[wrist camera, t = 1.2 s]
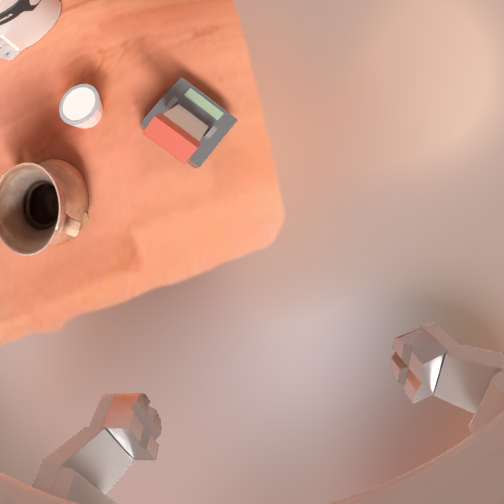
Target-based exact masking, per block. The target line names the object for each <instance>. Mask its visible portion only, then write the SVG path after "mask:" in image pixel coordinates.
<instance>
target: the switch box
mask: <svg viewBox="0 0 504 504" xmlns="http://www.w3.org/2000/svg"><path fill="white" fill-rule="evenodd" d="M178 104H179V105H181V106H182V107H183V108H185V109H186V110H187V111H189V112H190V113H191V114H193V115H194V116H195V117H197V118H198V119H199V120H201V121H202V122H203V123H205V124H206V125H207V126H209V127H208V129H207V130H206V132H205V133H204V135H203V136H202V138H201V140H200V142H201V144H200V145H199V147H198V148H197V150H196V151H195V152H194V153H193V154H192V156H191V157H190V158H189V159H188V160H187V163H189V164H190V165H191V166H193V167H194V168H198V167H200V166H201V165H202V164H203V162H204V161H205V160H206V158H207V157H208V156H209V155H210V153H211V152H212V151H213V150H214V148H215V147H216V146H217V145H218V143H219V142H220V141H221V140H222V138H223V137H224V136H225V135H226V134H227V132H228V131H229V130H230V129H231V128H232V126H233V125H234V124H235V123H236V122H237V119H236V118H235V117H233V116H232V115H231V114H230V113H228V112H227V111H226V110H225V109H223V108H222V107H221V106H220V105H218V104H217V103H216V102H214V101H213V100H212V99H211V98H209V97H208V96H207V95H205V94H204V93H203V92H201V91H200V90H199V89H197V88H196V87H195V86H193V85H192V84H190V83H189V82H188V81H186V80H185V79H184V78H182V77H181V78H180V79H179V80H178V81H177V82H176V83H175V84H174V85H173V86H172V87H171V88H170V89H169V90H168V91H167V93H166V94H165V95H164V96H163V97H162V98H161V99H160V100H159V102H158V103H157V104H156V105H155V106H154V107H153V109H152V110H151V111H150V112H149V113H148V114H147V116H146V117H145V118H144V119H143V121H142V122H141V123H140V125H141V129H142V130H145V129H146V127H147V126H148V125H149V123H150V122H151V120H152V119H153V117H154V116H155V115H157V114H159V113H162V114H164V113H165V112H167V111H168V110H170V109H172V108H173V107H175V106H176V105H178Z"/></svg>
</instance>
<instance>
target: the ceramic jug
mask: <svg viewBox="0 0 504 504" xmlns="http://www.w3.org/2000/svg"><path fill="white" fill-rule="evenodd" d="M88 206H89V195H88V189H87V185H86V182H85V180H84V178H83V176H82V175H81V173H80V172H79V171H78V170H77V169H76V168H75V167H74V166H73V165H72V164H70V163H68V162H66V161H63V160H59V159H50V160H45V161H43V162H40V163H38V164H35V163H30V162H27V163H20V164H18V165H15V166H13V167H12V168H10V169H9V170H8V171H6V172H5V173H4V174H3V176H2V177H1V179H0V239H1V241H2V243H3V244H4V245H5V246H6V247H7V248H8V249H10V250H11V251H13V252H14V253H17V254H19V255H26V256H27V255H34V254H37V253H39V252H41V251H42V250H44V249H45V248H46V247H47V246H58V245H62V244H64V243H66V242H68V241H69V240H71V239H72V238H73V237H76V236H77V234H78V232H79V230H80V229H81V227H82V225H83V224H84V223H85V222H86V221H87V220H88V218H89V217H88Z"/></svg>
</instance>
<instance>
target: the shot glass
mask: <svg viewBox="0 0 504 504" xmlns="http://www.w3.org/2000/svg"><path fill="white" fill-rule="evenodd" d="M59 113H60V117H61V118H62V120H63V121H64V122H65V123H67V124H69V125H72V126H76V127H79V128H90V127H93V126H94V125H96V124H97V123H98V122H99V120H100V119H101V117H102V113H103V108H102V103H101V100H100V97H99V94H98V91H97V90H96V89H95V88H94V87H93V86H91V85H89V84H79V85H76V86H74V87H72V88H71V89H69V90H68V91H67V92H66V93H65V94H64V96H63V98H62V99H61V102H60V106H59Z"/></svg>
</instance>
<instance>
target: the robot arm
mask: <svg viewBox="0 0 504 504" xmlns="http://www.w3.org/2000/svg"><path fill="white" fill-rule="evenodd" d="M60 13H61V2H60V0H0V58H1V59H4V60H8V61H11V60H13V59H14V58H15V57H16V56H17V55H18V54H19V53H20V52H21V51H23V50H24V49H26V48H27V47H29V46H31V45H33V44H34V43H36V42H37V41H38V40H40V39H41V38H42V37H43V36H44V35H45V34H46V33H47V32H48V31H49V30H50V29H51V28H52V27H53V25H54V24H55V23H56V21H57V19H58V18H59V15H60ZM392 348H393V349H394V350H395V353H394V355H393V356H392V358H391V369H392V373H393V376H394V378H395V379H396V381H397V382H398V383H400V384H403V385H405V387H404V392H405V393H406V395H407V396H408V398H409V399H410V400H411V402H412V403H413V404H414V403H416V402H418V401H420V400H422V399H424V398H426V397H429V396H431V395H433V394H434V396H436V397H438V398H441V399H443V400H445V401H447V402H450V403H452V404H454V405H456V406H458V407H460V408H463V409H465V410H467V411H469V412H472V413H474V416H473V418H472V420H471V422H470V424H469V427H468V428H469V430H470V431H471V433H472V435H471V436H469V437H468V438H466V439H465V440H463V441H462V442H460V443H459V444H457V445H456V446H454V447H453V448H451V449H449V450H448V451H446V452H445V453H443V454H441V455H440V456H438V457H436V458H434V459H433V460H431V461H429V462H427V463H425V464H424V465H422V466H420V467H418V468H416V469H414V470H412V471H410V472H408V473H406V474H404V475H402V476H399V477H397V478H395V479H393V480H390V481H388V482H386V483H384V484H381V485H379V486H376V487H374V488H371V489H368V490H366V491H363V492H360V493H357V494H355V495H352V496H349V497H346V498H342V499H339V500H336V501H332V502H329V503H325V504H504V353H500V352H495V351H491V350H486V349H482V348H477V347H473V346H468V345H464V344H463V345H461V346H460V345H458V344H457V343H456V342H455V341H454V340H453V339H452V338H451V337H450V336H448V335H447V334H446V333H445V332H444V331H443V330H442V329H441V328H439V327H438V326H437V325H436V324H435V323H429V324H427V325H424V326H422V327H420V328H418V329H416V330H413V331H411V332H408V333H406V334H403V335H401V336H398V337H396V338H395V339H394V341H393V347H392ZM149 403H150V400H149V399H148V397H147V396H146V394H143V393H133V394H105V395H103V396H102V398H101V400H100V403H99V405H98V407H97V409H96V412H95V414H94V416H93V419H92V421H91V423H90V426H89V427H85V428H84V429H82V430H81V431H80V432H78V433H77V434H76V435H75V436H73V437H72V438H71V439H70V440H68V441H67V442H66V443H64V444H63V445H62V446H60V447H59V448H58V449H57V450H55V451H54V452H53V453H51V454H50V455H49V456H47V457H46V458H45V459H43V461H42V463H41V466H40V468H39V470H38V473H37V475H36V478H35V480H34V483H33V485H32V486H29V485H27V484H25V483H23V482H20V481H18V480H16V479H14V478H12V477H10V476H8V475H6V474H4V473H2V472H0V504H116V503H115V501H113V500H112V499H110V498H109V497H108V496H106V494H107V493H108V491H109V490H110V489H111V488H112V487H113V486H114V484H115V483H116V482H117V481H118V480H119V478H120V477H121V476H122V475H123V474H124V472H125V471H126V470H127V469H128V468H129V467H130V465H131V464H132V463H133V461H134V460H156V457H157V451H158V446H159V445H158V443H157V442H156V439H157V438H158V437H159V436H160V434H161V420H160V417H159V414H158V413H157V411H156V410H155V409H154V408H152V407H150V406H149Z"/></svg>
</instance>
